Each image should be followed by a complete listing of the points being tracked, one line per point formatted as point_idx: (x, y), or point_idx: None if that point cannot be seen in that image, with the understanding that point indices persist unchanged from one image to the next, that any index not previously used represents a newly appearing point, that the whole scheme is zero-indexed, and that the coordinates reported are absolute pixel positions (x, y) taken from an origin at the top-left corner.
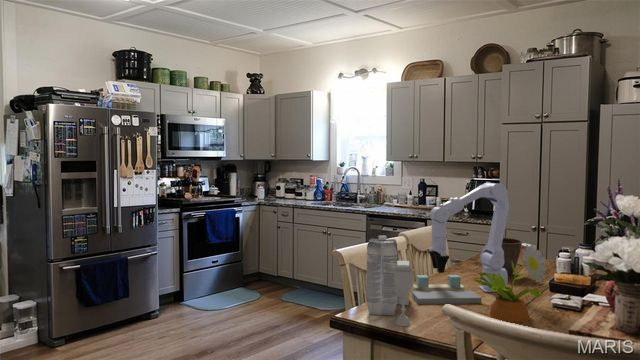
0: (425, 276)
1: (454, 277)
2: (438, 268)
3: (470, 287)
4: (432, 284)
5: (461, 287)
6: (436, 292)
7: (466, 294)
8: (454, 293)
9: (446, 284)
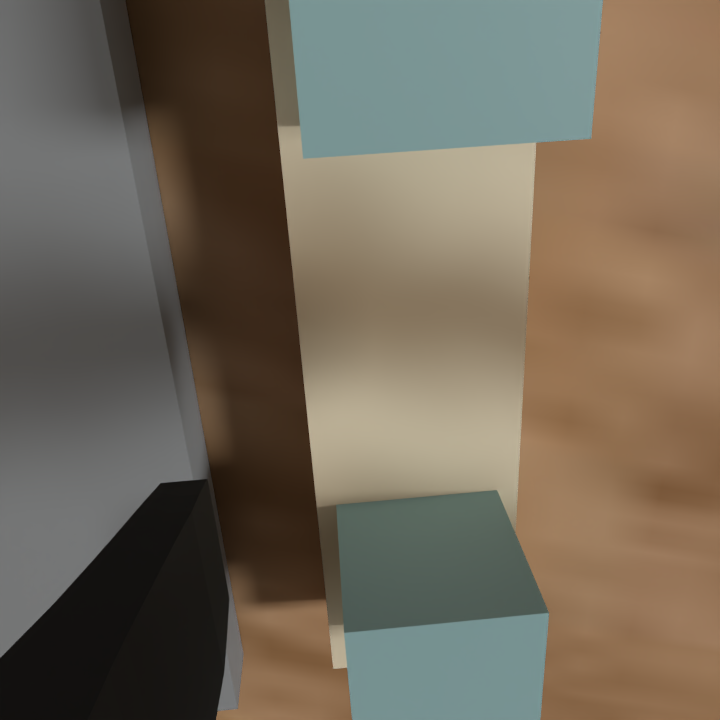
0: (421, 79)
1: (350, 683)
2: (88, 570)
3: (604, 690)
4: (522, 247)
5: (330, 631)
6: (45, 226)
7: (22, 625)
8: (41, 494)
9: (499, 475)
